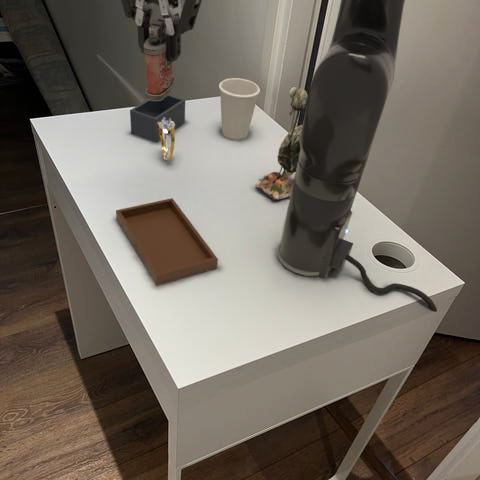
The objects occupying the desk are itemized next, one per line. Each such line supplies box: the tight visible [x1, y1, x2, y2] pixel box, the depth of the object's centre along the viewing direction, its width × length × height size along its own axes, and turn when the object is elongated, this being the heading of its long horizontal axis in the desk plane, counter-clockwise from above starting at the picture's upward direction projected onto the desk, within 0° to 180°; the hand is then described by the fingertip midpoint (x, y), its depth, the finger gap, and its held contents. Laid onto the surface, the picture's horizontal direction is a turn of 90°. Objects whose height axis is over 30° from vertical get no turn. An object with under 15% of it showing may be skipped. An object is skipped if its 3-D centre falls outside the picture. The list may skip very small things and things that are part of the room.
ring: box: [158, 117, 176, 161], centre depth 96 cm, size 7×3×8 cm, turn 16°
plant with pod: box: [254, 87, 309, 201], centre depth 89 cm, size 8×11×20 cm
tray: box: [115, 197, 218, 286], centre depth 81 cm, size 17×10×2 cm, turn 29°
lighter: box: [144, 15, 175, 101], centre depth 76 cm, size 8×3×10 cm, turn 167°
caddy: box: [129, 94, 186, 144], centre depth 105 cm, size 6×11×5 cm, turn 153°
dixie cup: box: [218, 77, 261, 141], centre depth 105 cm, size 8×8×10 cm
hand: (159, 55), depth 75 cm, fingers closed on lighter, 4 cm apart
